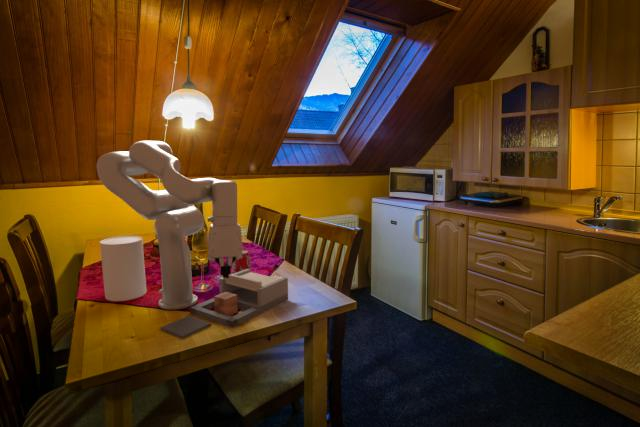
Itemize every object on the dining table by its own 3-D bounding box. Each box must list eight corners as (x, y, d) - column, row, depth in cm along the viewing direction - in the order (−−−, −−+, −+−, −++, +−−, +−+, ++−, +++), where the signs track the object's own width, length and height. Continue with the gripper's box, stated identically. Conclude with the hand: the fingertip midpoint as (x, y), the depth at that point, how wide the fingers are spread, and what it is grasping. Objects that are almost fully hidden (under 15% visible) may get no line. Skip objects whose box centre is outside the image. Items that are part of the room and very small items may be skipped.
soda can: (247, 285, 158) (246, 254, 156) (229, 283, 159) (228, 253, 157) (253, 279, 164) (252, 249, 162) (236, 278, 166) (235, 249, 164)
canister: (120, 303, 140) (114, 246, 136) (97, 296, 147) (91, 241, 143) (154, 291, 151) (150, 238, 148) (131, 285, 158) (127, 234, 155)
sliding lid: (225, 283, 140) (225, 274, 140) (250, 274, 150) (249, 265, 150) (259, 292, 132) (258, 282, 131) (283, 281, 142) (282, 272, 141)
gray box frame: (190, 313, 131) (188, 289, 130) (247, 289, 153) (247, 268, 151) (232, 327, 121) (231, 301, 120) (288, 300, 142) (287, 277, 141)
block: (215, 314, 131) (214, 296, 130) (226, 309, 135) (226, 291, 134) (226, 318, 128) (225, 299, 127) (237, 312, 132) (237, 294, 131)
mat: (160, 329, 120) (160, 327, 120) (188, 317, 128) (188, 315, 128) (182, 338, 114) (182, 336, 114) (210, 325, 122) (210, 323, 122)
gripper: (200, 223, 122) (201, 283, 125) (251, 221, 127) (251, 278, 130) (199, 218, 129) (200, 275, 132) (247, 217, 134) (247, 271, 137)
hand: (225, 276), depth 131 cm, fingers closed
